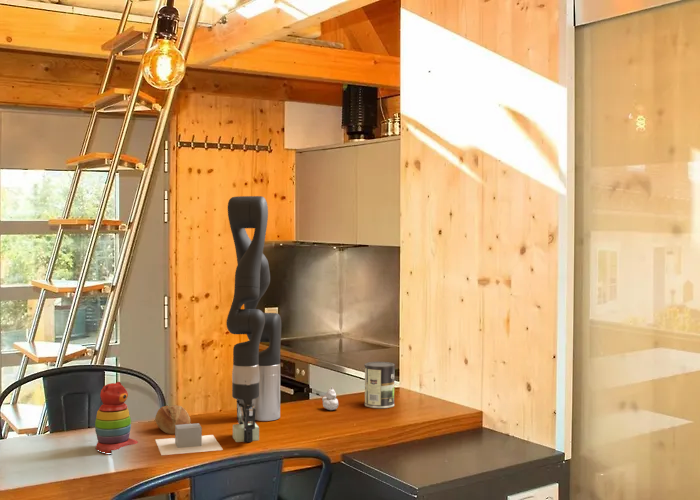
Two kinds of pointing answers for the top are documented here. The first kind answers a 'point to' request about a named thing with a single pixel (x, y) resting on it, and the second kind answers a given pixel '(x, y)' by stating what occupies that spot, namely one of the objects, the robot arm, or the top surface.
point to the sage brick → (239, 432)
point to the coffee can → (379, 384)
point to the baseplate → (170, 447)
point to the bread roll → (171, 418)
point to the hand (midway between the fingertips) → (245, 440)
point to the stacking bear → (113, 419)
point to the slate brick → (188, 435)
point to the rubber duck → (330, 400)
